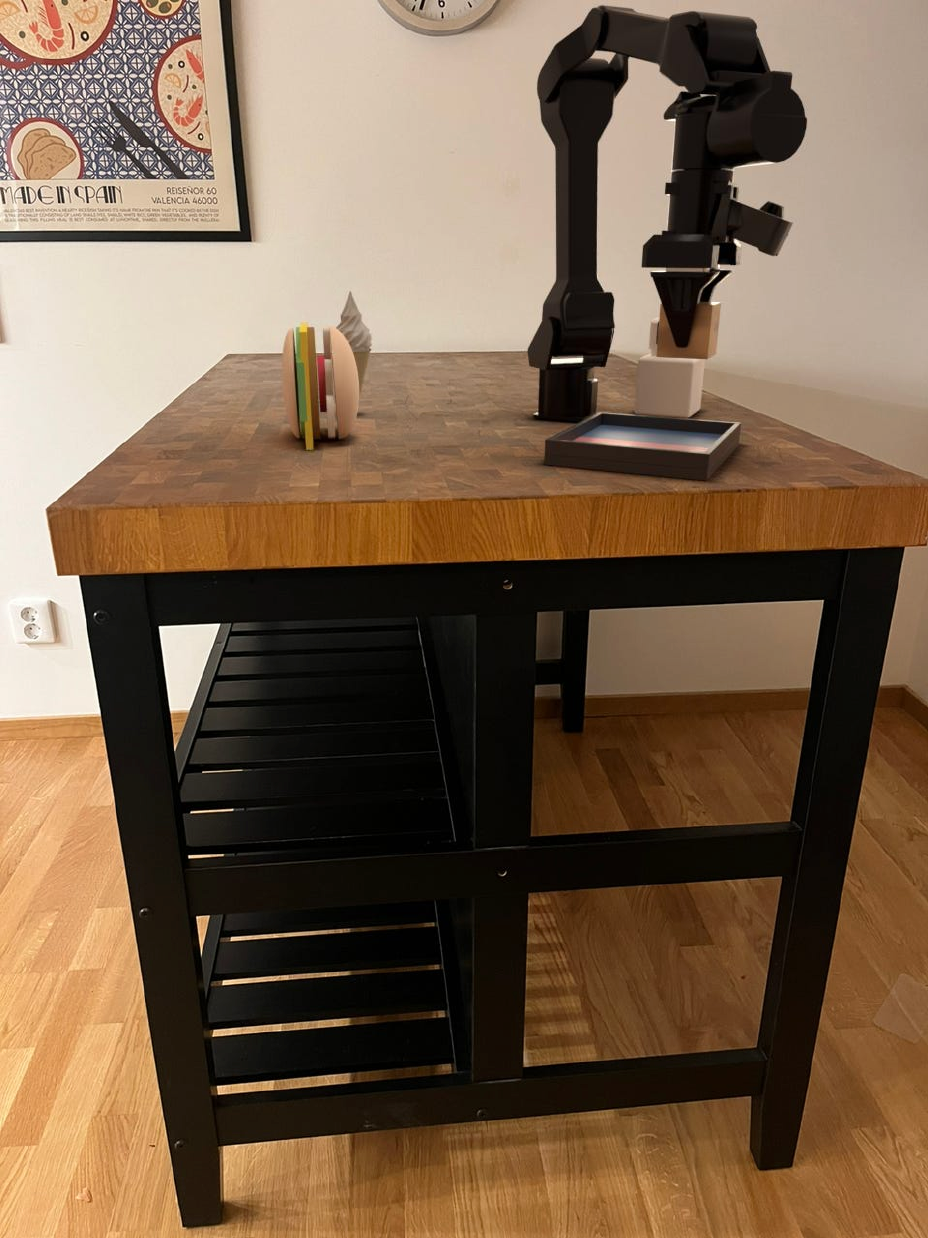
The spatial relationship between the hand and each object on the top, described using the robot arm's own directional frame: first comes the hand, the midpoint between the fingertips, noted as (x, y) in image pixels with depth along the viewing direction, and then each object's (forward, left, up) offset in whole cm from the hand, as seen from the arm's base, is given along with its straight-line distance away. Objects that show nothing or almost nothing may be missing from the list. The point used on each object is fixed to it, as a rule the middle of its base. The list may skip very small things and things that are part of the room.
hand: (687, 344), depth 92 cm
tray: (-3, -1, -11) cm, 12 cm away
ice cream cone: (-43, +7, -11) cm, 45 cm away
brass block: (0, 0, -1) cm, 1 cm away
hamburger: (-38, -8, -11) cm, 40 cm away
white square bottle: (-7, +26, -11) cm, 29 cm away
